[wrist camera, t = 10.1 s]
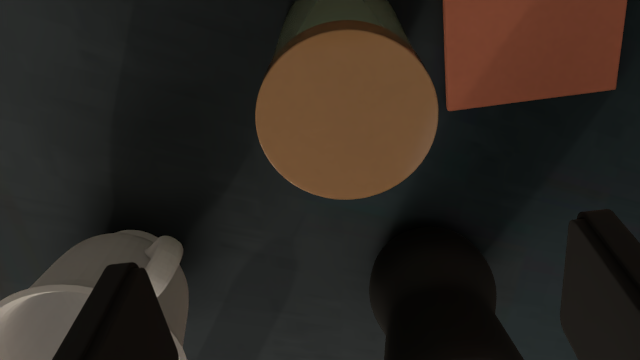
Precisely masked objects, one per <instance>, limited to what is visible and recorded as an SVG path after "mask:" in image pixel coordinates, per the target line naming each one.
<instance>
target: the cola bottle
mask: <svg viewBox="0 0 640 360" xmlns="http://www.w3.org/2000/svg"><path fill="white" fill-rule="evenodd" d="M369 294H370V302H371V307H372V310H373V313H374V315H375V318H376V320H377V322H378V323H379V325H380V327H381V329H382V330H383V332H384V333H385V335H386V342H385V355H384V360H524V359H523V358H522V356H521V354H520V353H519V351H518V350H517V348H516V346H515V345H514V343H513V342H512V340H511V339H510V337H509V335H508V334H507V332H506V331H505V329H504V327H503V326H502V324H501V323H500V321H499V320H498V318H497V316H496V315H495V309H496V286H495V281H494V277H493V274H492V271H491V269H490V267H489V265H488V263H487V261H486V260H485V258H484V257H483V256H482V254H481V253H480V252H479V250H478V249H477V248H476V247H475V246H474V245H473V244H472V243H471V242H470V241H468V240H467V239H466V238H464V237H463V236H461V235H460V234H458V233H456V232H454V231H451V230H448V229H445V228H440V227H420V228H415V229H411V230H408V231H406V232H403V233H401V234H399V235H398V236H396V237H394V238H393V239H392V240H390V241H389V242H388V243H387V244H386V245H385V246H384V247H383V249H382V250H381V251H380V253H379V255H378V256H377V258H376V261H375V263H374V266H373V269H372V273H371V278H370V287H369Z"/></svg>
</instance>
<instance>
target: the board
mask: <svg viewBox="0 0 640 360" xmlns="http://www.w3.org/2000/svg"><path fill="white" fill-rule="evenodd" d="M626 6H627V0H443V23H444V52H445V82H446V108H447V110H448V111H454V110H461V109H469V108H477V107H484V106H492V105H500V104H507V103H515V102H523V101H531V100H538V99H546V98H554V97H561V96H569V95H577V94H584V93H592V92H600V91H607V90H615V89H616V83H617V75H618V67H619V60H620V52H621V44H622V37H623V29H624V21H625V14H626Z"/></svg>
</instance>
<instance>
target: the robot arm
mask: <svg viewBox="0 0 640 360" xmlns="http://www.w3.org/2000/svg"><path fill="white" fill-rule="evenodd" d="M560 320H561V325H562V328H563V331H564V333H565V335H566V337H567V339H568V341H569V343H570V345H571V346H572V348H573V350H574V352H575V354H576V356H577V358H578V360H640V243H639V242H638V241H637V239H636V238H635V237H634V236H633V235H632V234H631V232H630V231H629V230H628V229H627V228H626V227H625V225H624V224H623V223H622V222H621V221H620V220H619V218H618V217H617V216H616V215H615V214H614V213H613V212H612V211H611V210H609V209H604V210H595V211H586V212H580V213H579V214H578V216H577V220H571V221H570V223H569V227H568V238H567V248H566V258H565V269H564V279H563V289H562V300H561V310H560ZM52 360H179V355H178V350H177V348H176V345H175V343H174V340H173V337H172V335H171V332H170V330H169V327H168V325H167V322H166V319H165V317H164V314H163V312H162V309H161V307H160V304H159V302H158V299H157V296H156V294H155V291H154V289H153V286H152V284H151V281H150V279H149V276H148V273H147V271H146V270H145V269H144V268H142V267H141V268H139V267H138V265H137V264H136V263H134V262H128V263H119V264H111V265H108V266H107V267H106V268H105V269H104V271H103V273H102V275H101V276H100V278H99V280H98V281H97V283H96V285H95V287H94V288H93V290H92V292H91V293H90V295H89V297H88V299H87V300H86V302H85V304H84V305H83V307H82V309H81V311H80V312H79V314H78V316H77V317H76V319H75V321H74V323H73V324H72V326H71V328H70V330H69V331H68V333H67V335H66V336H65V338H64V340H63V342H62V343H61V345H60V347H59V348H58V350H57V352H56V354H55V355H54V357H53V359H52Z"/></svg>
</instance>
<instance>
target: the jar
mask: <svg viewBox="0 0 640 360" xmlns="http://www.w3.org/2000/svg"><path fill="white" fill-rule="evenodd" d="M255 123H256V129H257V135H258V138H259V141H260V144H261V147H262V149H263V151H264V153H265V155H266V156H267V158H268V160H269V161H270V163H271V164H272V165H273V166H274V168H275V169H276V170H277V171H278V172H279V173H280V174H281V175H282V176H283V177H284V178H285V179H287V180H288V181H289V182H291V183H292V184H294V185H295V186H297V187H299V188H301V189H302V190H304V191H307V192H309V193H312V194H314V195H318V196H321V197H326V198H332V199H345V200H347V199H359V198H365V197H369V196H373V195H376V194H379V193H382V192H384V191H386V190H389V189H390V188H392V187H394V186H396V185H397V184H399V183H400V182H402V181H403V180H404V179H406V178H407V177H408V176H409V175H410V174H411V173H413V172H414V171H415V170H416V168H417V167H418V166H419V165H420V164H421V162H422V161H423V160H424V158H425V156H426V155H427V153H428V152H429V150H430V147H431V145H432V143H433V140H434V137H435V134H436V130H437V125H438V101H437V96H436V92H435V88H434V85H433V83H432V81H431V78H430V76H429V74H428V72H427V70H426V68H425V66H424V64H423V63H422V61H421V59H420V58H419V56H418V55H417V53H416V52H415V51H414V50H413V48H412V46H411V44H410V42H409V40H408V38H407V36H406V34H405V32H404V30H403V28H402V26H401V24H400V22H399V20H398V18H397V15H396V13H395V11H394V10H393V8H392V6H391V5H390V3H389V2H388V1H387V0H296V1H295V2H294V4H293V5H292V7H291V8H290V10H289V12H288V14H287V16H286V18H285V21H284V24H283V27H282V30H281V34H280V37H279V40H278V43H277V46H276V49H275V52H274V55H273V58H272V61H271V63H270V65H269V66H268V68H267V71H266V73H265V75H264V78H263V81H262V84H261V87H260V90H259V94H258V97H257V102H256V110H255Z"/></svg>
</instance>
